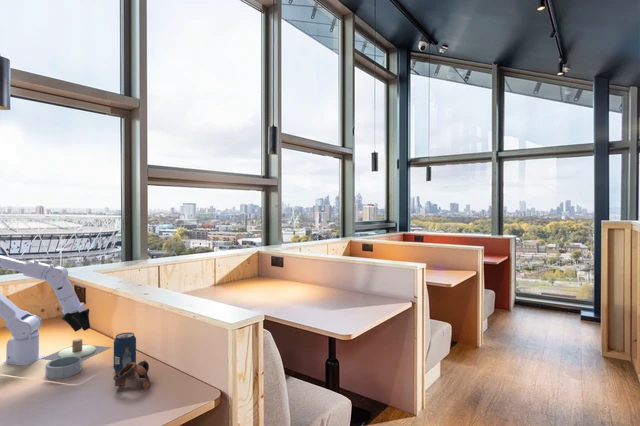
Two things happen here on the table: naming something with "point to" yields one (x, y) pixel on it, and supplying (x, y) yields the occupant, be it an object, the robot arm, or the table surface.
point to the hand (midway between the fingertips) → (82, 329)
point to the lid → (77, 349)
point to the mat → (98, 350)
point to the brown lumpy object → (133, 373)
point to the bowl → (63, 367)
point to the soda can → (124, 350)
